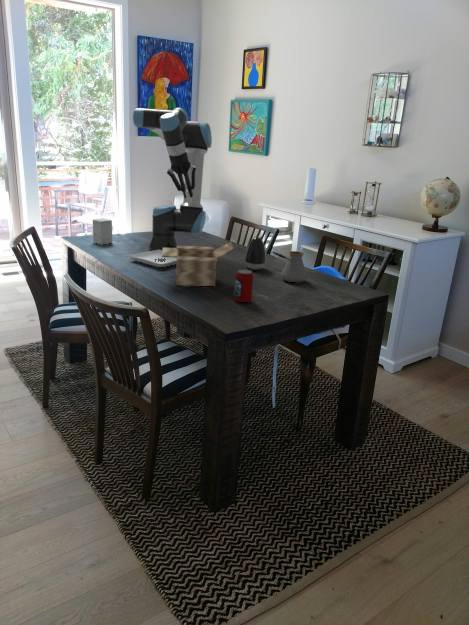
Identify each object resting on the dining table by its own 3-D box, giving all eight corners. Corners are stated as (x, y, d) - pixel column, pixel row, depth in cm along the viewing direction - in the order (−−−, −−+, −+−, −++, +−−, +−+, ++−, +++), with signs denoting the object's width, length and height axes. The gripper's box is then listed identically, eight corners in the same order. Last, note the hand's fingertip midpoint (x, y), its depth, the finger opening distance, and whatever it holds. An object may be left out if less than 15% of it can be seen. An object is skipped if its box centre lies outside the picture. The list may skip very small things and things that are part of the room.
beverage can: (233, 297, 197) (235, 268, 193) (250, 298, 198) (252, 269, 194) (234, 303, 191) (236, 273, 187) (252, 304, 191) (254, 274, 187)
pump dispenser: (268, 267, 243) (271, 237, 238) (260, 272, 234) (263, 240, 229) (249, 264, 247) (251, 233, 242) (240, 268, 238) (243, 237, 233)
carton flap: (233, 248, 204) (234, 250, 204) (230, 241, 216) (231, 242, 216) (216, 257, 204) (217, 259, 204) (214, 250, 217) (214, 251, 217)
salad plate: (159, 255, 254) (159, 248, 253) (191, 263, 243) (191, 256, 241) (127, 262, 237) (127, 255, 236) (161, 271, 226) (161, 264, 225)
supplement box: (112, 243, 268) (112, 220, 264) (101, 245, 263) (100, 221, 258) (104, 241, 273) (104, 217, 268) (92, 242, 267) (92, 219, 263)
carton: (161, 289, 201) (161, 258, 196) (162, 272, 223) (163, 244, 219) (215, 291, 204) (217, 260, 199) (211, 274, 226) (213, 247, 222)
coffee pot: (292, 275, 233) (295, 244, 228) (311, 282, 225) (315, 249, 220) (259, 282, 219) (262, 249, 214) (278, 289, 211) (282, 255, 206)
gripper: (160, 158, 206) (175, 209, 221) (191, 154, 204) (203, 206, 218) (163, 151, 211) (177, 201, 226) (193, 146, 209) (205, 197, 224)
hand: (190, 203), depth 222 cm, fingers closed
